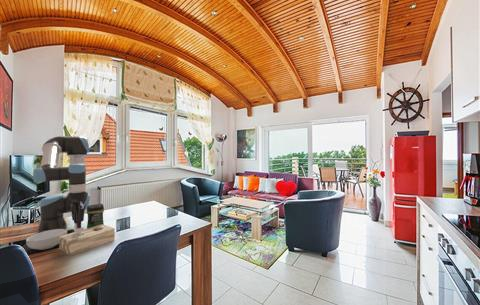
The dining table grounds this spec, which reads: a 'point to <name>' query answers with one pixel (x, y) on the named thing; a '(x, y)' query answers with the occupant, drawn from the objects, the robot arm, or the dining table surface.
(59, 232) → the cereal bowl
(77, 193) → the robot arm
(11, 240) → the dining table surface
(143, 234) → the dining table surface
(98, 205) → the coffee jar
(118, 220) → the dining table surface
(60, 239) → the birch block
